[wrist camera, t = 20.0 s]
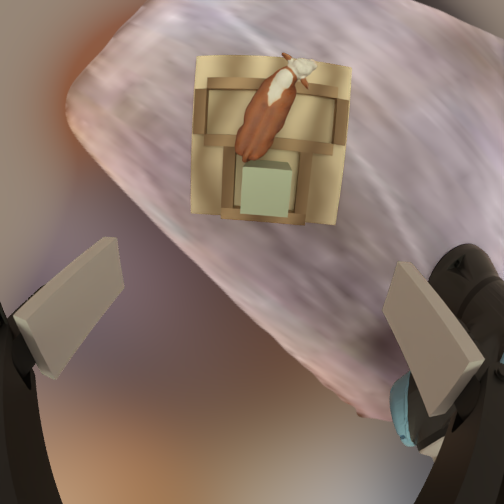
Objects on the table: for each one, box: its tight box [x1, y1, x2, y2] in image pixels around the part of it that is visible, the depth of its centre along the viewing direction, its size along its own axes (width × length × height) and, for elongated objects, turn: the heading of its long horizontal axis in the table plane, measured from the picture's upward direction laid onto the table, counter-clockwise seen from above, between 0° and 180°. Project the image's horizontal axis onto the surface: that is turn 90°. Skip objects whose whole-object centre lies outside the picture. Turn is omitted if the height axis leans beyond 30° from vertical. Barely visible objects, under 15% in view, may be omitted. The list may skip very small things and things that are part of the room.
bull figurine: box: [235, 53, 318, 163], centre depth 27 cm, size 4×13×8 cm, turn 150°
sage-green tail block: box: [240, 160, 292, 218], centre depth 32 cm, size 5×5×8 cm
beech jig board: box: [191, 55, 352, 226], centre depth 33 cm, size 20×22×2 cm
